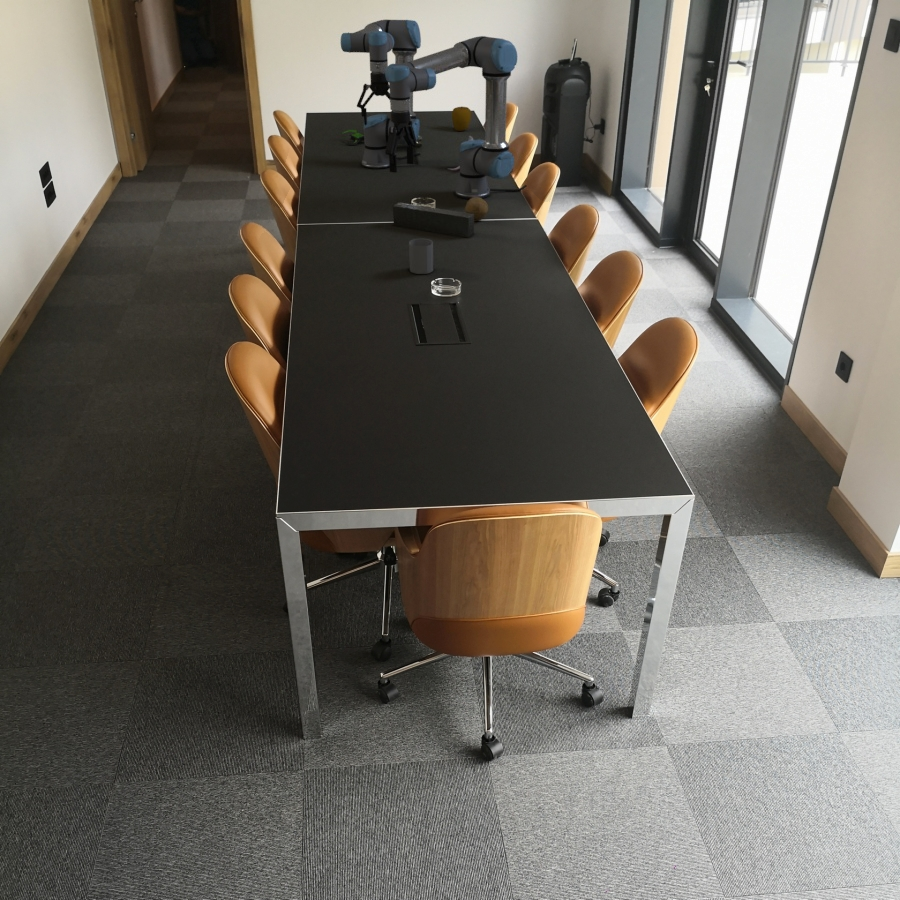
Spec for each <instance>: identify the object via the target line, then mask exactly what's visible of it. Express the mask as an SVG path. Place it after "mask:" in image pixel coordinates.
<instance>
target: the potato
mask: <svg viewBox="0 0 900 900" xmlns="http://www.w3.org/2000/svg"><path fill="white" fill-rule="evenodd" d="M488 211H489V205H488V203H487V201H485V199H484V198H479V197H473V198H471V199H468V201H467V202H466V204H465V207H464V213H470V214H474V221H475V220H482V219H483V218H484V217H486V216H487V214H488Z"/></svg>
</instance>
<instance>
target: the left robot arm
mask: <svg viewBox="0 0 900 900" xmlns="http://www.w3.org/2000/svg"><path fill="white" fill-rule="evenodd" d="M421 43H422V38H421V29H420V27H419V24H418V22H417V21H416V20H412V19H380V20H377V21H373V22H370V23H368V24H366V25H365V26H364V28H362V29H360V30H357V31H355V32H343V33H342V34H341V35H340V49H341V50H342V52H344V53H365V54H369V55H368V56H369V71H370V74H369V75H370V77H369V78H370V84H367V83H364V84H363V85H362V86H363V87H362V92H361V94H360V97H359V99H358V101H357V103H356V108H359V109H360V112H361V113H360V114H361V117H362V118H363V134H364V141H363V142H364V151H363V155H362V159H361V166H362V167H363V168H366V169H371V170H381V169H387V168H390V165H389V155H387V154H386V153H385V152H386V147H387V141H388V136H389V127H394V123H393V122H391V117H390V118H389V116H388V114H387V113H386V114H385V113H378V114H373V115H370V116H369V115H367V113H368V112H367V107H366V106H367V105H368V104H369V102H370V101H371V99H372V98H373V97H374V96H375V97H379V96H380V97H384V96H385V97H386V98H387V99H388V100H389V101H390V86H389V82H388V81H387V80H386V76H385V72H386V69H387V67H388V66H389V59H388V53H390V52H392V54H393V55H394V64H403V63H406V62H409V61H413V60H415V59H414V57H415V55H417V53H418V49H420V48H421V46H422V45H421ZM369 89H370V90H371V93H370V94H369V95H368V97H367V98H366V100H365V101H364V97H365V96H366V93H367V91H368V90H369ZM363 101H364V102H363ZM362 102H363V103H362ZM409 111H410V119H411V120H410V121H412V127H413V130H414V134H415V137H416V141H418V138H419V134H420V129H421V128H420V127H421V126H420V125H421V124H420V119H418V118H417V114H416V113H415V112H414V92H410V110H409ZM392 134H393V133H392ZM398 145H403V146H404V145H405V146H408V145H407V143H406V141H405V139H404V137H401V139H400V140H399V143H398ZM388 151H389V150H388ZM420 155H421V153H420V152H418V153H414V157H415V156H420ZM403 159H407V155H404V156H401V157H398V156H396V160H403Z"/></svg>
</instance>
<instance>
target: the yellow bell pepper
mask: <svg viewBox="0 0 900 900" xmlns="http://www.w3.org/2000/svg"><path fill="white" fill-rule="evenodd" d="M451 121H452V125H453V128H454V129H455V131H457V132H463V131H466V130H467V129H468V128H469V126H470V124H471V121H472V111H471V108H469V107H467V106H462V105H461V106H457V107H454V108H452V111H451Z"/></svg>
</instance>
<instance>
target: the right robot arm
mask: <svg viewBox="0 0 900 900" xmlns="http://www.w3.org/2000/svg"><path fill="white" fill-rule="evenodd" d="M517 63H518V51H517V48H516V46H515V45H514V44H513V42H511V41H510V40H507V39H504V38H499V37H490V36H485V35H480V36H475V37H471V38H468V39H465V40H462V41H459V42H456V43H454V45H453V46H452V47H449V48H447V49H443V50H441V51H437V52H434V53H431V54H428V55H425V56H422V57H418V58H416V59H414V60H413V61H409V62H406V63H403V64H395V63H390V64H388V67H387V69H386V72H385V76H386V80H387V81H388V83H389V86H390V88H389V93H390V100H389V104H390V112H389V113H390V118H391V122H393V123H394V127H389V136H388V141H387V147H386V152H385V153H386V154H387V155H389V165H390V167H389V172H390V173H395V174H396V173H397V172H398V165H397V159H396V157H397V154H396V152H397V149H398V146H399V144H398V143H399V140H400V139H401V137H404V139H405V141H406V143H407V145H406V156H407V158H406V164H407V165H414V164H415V156H414V154H415V152H414V149H415V147H417V143H418V142H417V141H418V140H417V141H416V137H415V134H414V130H413V127H412V121H410V120H411V119H410V111H409V110H410V92H413V93H415V92H423V91H429V90H432V89H434V88H435V87H436V85H437V75H438V74H439V75H440V74H442V73H445V72H448V71H450V70H453V69H457V68H460V69H465V68H469V67H474V68H480V69H481V76H482V77H483V79H485V110H484V111H485V112H484V113H485V115H484V116H485V117H484V118H485V120H484V121H485V122H484V139H480V140H479V139H473V140H471V141H468V140H465V141H462V142H461V143H460V146H459V166H460V169H459V178H458V181H457V185H456V188H455V196H456V197H457V198H460V199H465V200H470V199H471V198H473V197H479V198H482V199H486V198H488V197H490V195H491V192H520V191H522V190H524V189H525V188H527V187H528V185H527V184H524V185H523V186H522V187H520V188H510V189H509V188H490V186H489V183H488V179H487V177H490V178H491V179H497V180H503V179H506V178H507V177H508V176H509V175H510V173H511V172H512V171H513V169H514V167H515V158H514V155H513V154H512V152H510V144H509V143H508V142H507V139H506V138H507V133H506V132H507V97H508V95H507V93H508V79H509V78H510V77H511V76H512V71H513V70H514V69H515V67H516V66H517ZM392 133H393V134H392ZM388 150H389V151H388Z"/></svg>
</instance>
